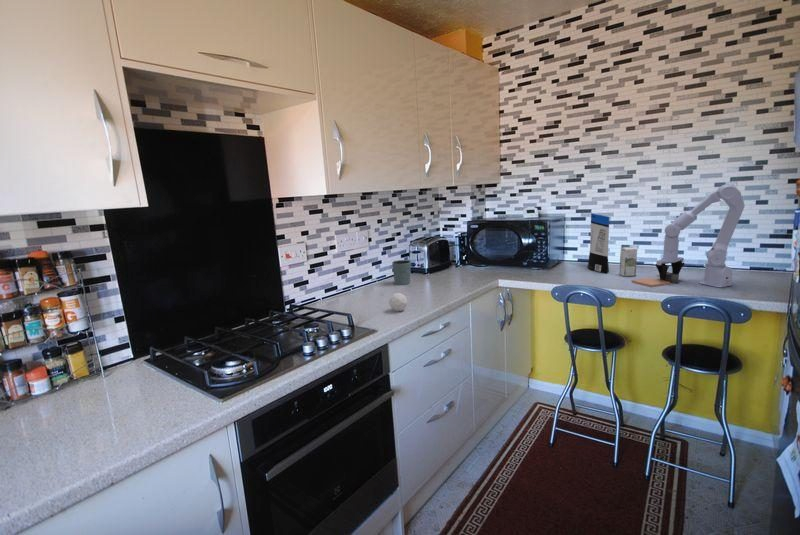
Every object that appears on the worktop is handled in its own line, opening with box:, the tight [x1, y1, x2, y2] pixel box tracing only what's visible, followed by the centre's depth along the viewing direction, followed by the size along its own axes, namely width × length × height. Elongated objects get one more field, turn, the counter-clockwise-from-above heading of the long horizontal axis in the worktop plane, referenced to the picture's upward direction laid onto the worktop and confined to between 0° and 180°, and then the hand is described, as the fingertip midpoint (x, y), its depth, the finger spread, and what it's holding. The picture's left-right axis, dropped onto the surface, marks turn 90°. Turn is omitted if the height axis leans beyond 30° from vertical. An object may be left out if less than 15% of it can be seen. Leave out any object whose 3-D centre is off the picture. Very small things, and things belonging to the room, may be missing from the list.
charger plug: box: [655, 271, 680, 285], centre depth 197 cm, size 10×4×4 cm, turn 18°
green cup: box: [391, 259, 412, 286], centre depth 225 cm, size 10×10×12 cm
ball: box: [388, 292, 408, 312], centre depth 178 cm, size 8×8×8 cm
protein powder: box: [587, 213, 610, 275], centre depth 227 cm, size 10×24×30 cm, turn 176°
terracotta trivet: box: [631, 277, 671, 288], centre depth 196 cm, size 11×11×1 cm
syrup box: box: [619, 246, 638, 277], centre depth 211 cm, size 6×6×14 cm
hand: (668, 278), depth 196 cm, fingers open, 7 cm apart
